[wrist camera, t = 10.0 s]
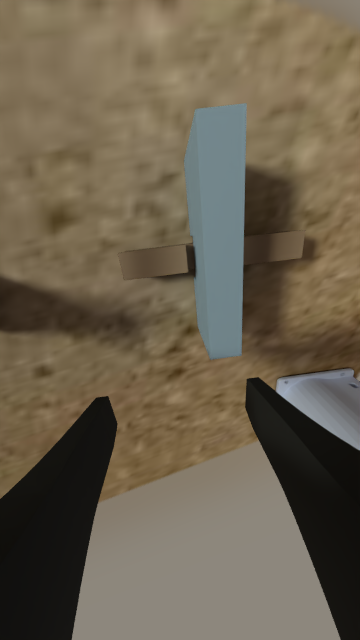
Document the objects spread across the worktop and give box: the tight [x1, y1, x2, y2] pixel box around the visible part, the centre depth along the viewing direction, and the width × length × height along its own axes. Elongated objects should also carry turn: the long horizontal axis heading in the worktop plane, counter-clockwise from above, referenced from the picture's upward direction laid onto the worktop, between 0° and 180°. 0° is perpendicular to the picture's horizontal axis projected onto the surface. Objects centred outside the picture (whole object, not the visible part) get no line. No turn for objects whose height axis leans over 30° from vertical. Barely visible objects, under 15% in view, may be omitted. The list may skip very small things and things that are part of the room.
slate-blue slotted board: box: [184, 103, 247, 360], centre depth 14 cm, size 2×14×6 cm, turn 7°
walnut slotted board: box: [118, 230, 305, 280], centre depth 15 cm, size 14×2×3 cm, turn 97°
